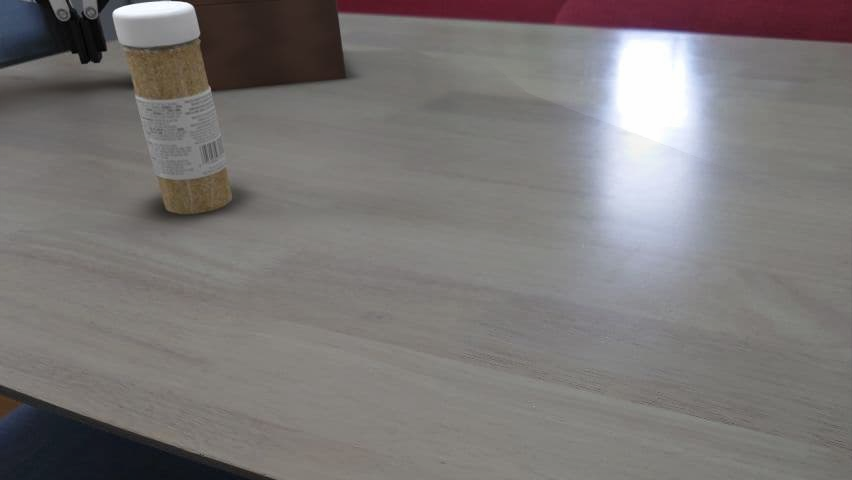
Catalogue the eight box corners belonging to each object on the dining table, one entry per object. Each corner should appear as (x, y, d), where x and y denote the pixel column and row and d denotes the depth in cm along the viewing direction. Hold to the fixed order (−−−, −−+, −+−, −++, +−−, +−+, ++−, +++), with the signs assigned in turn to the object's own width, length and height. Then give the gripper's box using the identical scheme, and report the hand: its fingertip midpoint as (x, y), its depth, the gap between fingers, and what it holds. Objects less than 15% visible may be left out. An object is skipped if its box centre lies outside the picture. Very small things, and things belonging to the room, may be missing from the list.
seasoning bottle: (206, 197, 58) (160, -4, 51) (252, 210, 56) (210, 2, 49) (150, 221, 54) (93, 8, 48) (197, 235, 52) (144, 15, 46)
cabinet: (193, 103, 78) (170, -3, 74) (194, 72, 89) (174, -22, 84) (347, 88, 83) (334, -13, 78) (331, 60, 93) (319, -30, 88)
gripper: (131, -158, 75) (175, 46, 85) (-56, -156, 71) (12, 58, 80) (124, -157, 69) (173, 62, 78) (-81, -156, 65) (-4, 76, 74)
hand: (92, 60), depth 79 cm, fingers closed
